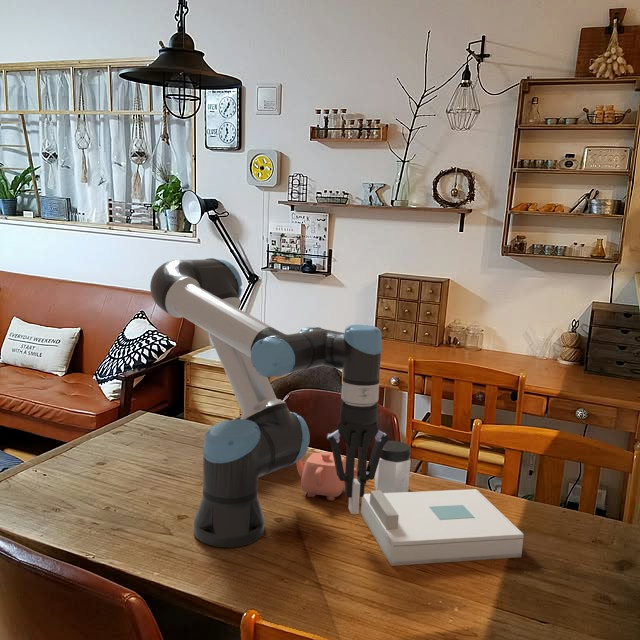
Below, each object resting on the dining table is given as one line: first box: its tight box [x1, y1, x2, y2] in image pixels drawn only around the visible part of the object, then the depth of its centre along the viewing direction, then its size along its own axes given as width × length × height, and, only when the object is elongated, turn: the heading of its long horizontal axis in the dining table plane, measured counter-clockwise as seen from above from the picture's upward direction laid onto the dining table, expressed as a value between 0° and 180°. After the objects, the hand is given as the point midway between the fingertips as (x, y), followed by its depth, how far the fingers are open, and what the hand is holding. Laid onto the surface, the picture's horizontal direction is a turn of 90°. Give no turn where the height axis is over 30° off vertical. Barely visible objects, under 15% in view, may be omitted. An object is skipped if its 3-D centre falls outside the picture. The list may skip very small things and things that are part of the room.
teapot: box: [296, 451, 358, 501], centre depth 157 cm, size 14×12×10 cm
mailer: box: [360, 497, 524, 567], centre depth 139 cm, size 28×22×4 cm
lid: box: [361, 488, 525, 546], centre depth 138 cm, size 28×22×4 cm
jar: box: [374, 440, 412, 493], centre depth 159 cm, size 9×8×12 cm
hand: (353, 510), depth 134 cm, fingers closed
